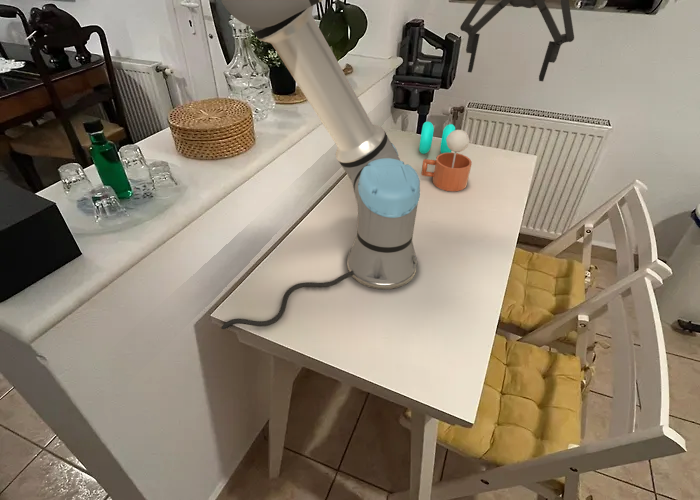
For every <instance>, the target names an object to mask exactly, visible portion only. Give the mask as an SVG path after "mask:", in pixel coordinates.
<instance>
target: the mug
mask: <svg viewBox="0 0 700 500" xmlns="http://www.w3.org/2000/svg"><path fill="white" fill-rule="evenodd" d="M454 153H455V152H451V153H442V154H441V153H439V154H438V155H437V156H436V158H435V159H429V158H424V159H423V160H422V164H421V173H420V174H421V176H422V177H429V178H432V184H433V185H434V186H435V187H437V188H438V189H440V190H443V191H447V192H460V191H463V190H464V189H466V187H467V185H468V181H469V177H470V174H471V168H472V165H473V163H472V160H471V158H469V157H468V156H466V155H464V154H463V153H462V154H461V153H459V152H456V157H455V162H454V167H453V168H452V163H453V158H454ZM429 165H431V166H434V169H433V171H428V166H429Z"/></svg>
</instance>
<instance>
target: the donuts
mask: <svg viewBox="0 0 700 500" xmlns="http://www.w3.org/2000/svg"><path fill="white" fill-rule="evenodd" d="M454 130H456V127H455V125H454V124H453V123H449V124H446V125H445V127H444V128H443V130H442V135H441V140H440V146H439V152H440V154H442V153H452V152H453V151H452V150H450V149H449V147H448V146H447V141H446V139H447V136H448V135H449V134H450V133H451V132H452V131H454ZM434 132H435V126H434V124H433V123H432V122H431V121H429V120H428V121H425V122H424V123H423V124H422V127H421V133H420V137H419V146H418V147H419V148H418V151H419V153H420V154H422V155H426V154H428V153H429V152H430V150H431V148H432V145H433V138H434V134H435V133H434Z"/></svg>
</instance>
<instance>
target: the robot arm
mask: <svg viewBox="0 0 700 500" xmlns="http://www.w3.org/2000/svg"><path fill="white" fill-rule="evenodd" d="M220 1H221V3H222V5H223V6H224V8H225V10H226V11H227V12H229V14H230V15H231V16H232V17H233V18H235V19H236V20H237V21H238V22H239V23H242V24H244V25H245V26H248V27H250V30H251V31H252V32H253V33H254V35H255V36H256V39H257V40H258V41H261V42H264V43H268V44H271V45H272V47H273V49H274V50H275V52H276V53H277V54H278V57H279V58H280V59H281V61H282V63H283V64H284V66H285V67H286V69H287V70H288V72H289V73H290V75H291V77H292V78H293V80H294V81H295V83H296V84H297V86H298V88H299V89H300V91H301V92H302V94H303V95H304V97H305V98H306V100H307V101H308V103H309V105H310V106H311V108H312V109H313V111H314V112H315V114H316V115H317V117H318V119H319V121H321V123H322V125H323V126H324V128H325V129H326V131H327V133H328V134H329V136H330V137H331V139H332V140H333V141H334V144H335V145H336V146H337V148H336V152H335V158H336V160H337V161H338V163H339V164H340V166H341V168H342V169H343V171H344V173H346V175H347V177H348V178H349V180H350V183H351V185H352V188H353V192H354V197H355V201H356V206H357V224H356V225H357V226H356V236H355V238H354V241H353V244H352V246H351V248H350V249H349V251H348V255H347V259H346V260H347V262H346V263H347V264H346V265H347V266H346V267H347V270H348V272H346V273H344V274H342V275H340V276H339V277H336V278H335V279H333V280H330V281H325V282H324V281H323V282H313V281H312V282H311V281H310V282H300V283H296V284H294V285H292V286H291V287H289V288H288V289H287V290H286V292H285V293H284V295H283V297H282V301H281V305H280V309H279V310H278V312H277V313H276V315H275V316H274V317H272V318H271V319H268V320H260V321H259V320H253V319H247V318H233V319H230V320H228V321H226V322H225V323H224V324H223V325H222V326H221V328H220V329H221V330H227V329H228V328H229V327H231V326H233V325H238V324H240V325H248V326H252V327H267V326H271V325H273V324H275V323H277V322H278V321H279V320H280V319H281V318H282V317H283V315H284V312H285V310H286V308H287V304H288V300H289V297H290V295H291V294H292V293H293V292H295V291H296V290H299V289H301V288H327V287H332V286H334V285H337V284H339V283H341V282H342V281H344V280H346V279H348V278H350V277H352V278H353V280H355V281H356V282H358V283H359V284H361V285H362V286H365V287H368V288H371V289H376V290H394V289H397V288H400V287H403V286H405V285H407V284H408V283H410V282H411V281H412V280H413V279H414V277H415V275H416V272H417V267H418V260H417V255H416V252H415V247H414V243H413V235H414V232H415V231H414V230H415V225H416V218H417V211H418V205H419V201H420V197H421V181H420V177H419V174H418V172H417V171H416V170H415V169H414V168H413V167H412V166H411V165H410V164H408V163H406V164H405V162H404V161H402V160H401V158H400V156H399V152H398V150H397V148H396V146H395V145H394V144H393V142H391V140H390V137H389V136H388V135H387V132H386V131H385V129H384V127H383V126H382V125H379V124H373V122H372V120H371V119H370V117H369V115H368V113H367V111H366V110H365V108H364V106H363V105H362V103H361V101H360V99H359V97H358V96H357V93H356V92H355V90H354V88H353V86H352V85H351V83H350V81H349V80H348V77H347V75H346V74H345V72H344V70H343V68H342V67H341V65H340V63H339V61H338V59H337V57H336V56H335V54H334V52H333V50H332V49H331V47H330V45H329V43H328V42H327V40H326V38H325V36H324V35H323V32H322V30H321V29H320V27H319V25H318V24H317V22H316V20H315V18H314V16H313V10H314V6H315V5H317V4H319V3H321V2H323V0H220ZM486 1H487V0H476V2H475V3H474V5H473V6H472V8H471V9H470V11H469V12H468V14H467V15H466V17H465V18H464V20H463V21H462V23H461V25H460V27H459V29H460V31H461V32H464V33H466V34H467V35H468V37H467V43H466V49H465V52H466V54H470V58H469V63H468V68H467V73H473V69H474V65H475V61H476V54H477V51H478V50H477V49H478V45H479V39H480V35H481V34H480V33H478V32H479V31H480V30H481V29H482V28H483V27H484V26H486V25H487V24H488V23H489V22H490V21H491V20H492V19H494V17H495V16H496V15H497V14H499V12H501V11H502V10H503V9H504V8H505V7H506V6H508V4H509V5H511V6H512V7H513V8H520V7H524V8H526V9H532V8H534V7H537V9H538V11H539V12H540V15H541V17H542V18H543V21H544V22H545V25H546V27H547V29H548V31H549V33H550V35H551V37H552V39H553V41H552V40H550V41H548V42H549V43H548V45H547V49H546V51H545V55H544V59H543V61H542V65H541V68H540V71H539V75H538V81H539V82H544V80H545V77H546V74H547V70H548V67H549V65H550V63H552V64H553V63H555V62H556V61H557V59H558V55H559V53H560V49H561V46H563V44H565V43H571V42H573V41H574V40H575V33H574V26H573V20H572V12H571V7H570V0H559V2H560V8H561V14H562V20H563V26H564V33H562V34H561V32H560V29H559V28H558V26H557V24H556V21H555V20H554V17H553V16H552V13H551V11H550V9H549V6H548V4H547V2H546V0H498V1H497V2H496V3H495V4H494V5H493V6H492V7H491V8H490V9H489V10H487V12H486V13H485V14H484V15H482V17H481V18H479V20H477V21H476V22H475V23H474V25H472V24H471V23H472V21H474V19H475V17H476V15H477V14H478V13H479V11H480V10H481V8H482V7H483V5H484V3H485V2H486Z"/></svg>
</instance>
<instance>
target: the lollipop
mask: <svg viewBox="0 0 700 500" xmlns="http://www.w3.org/2000/svg"><path fill="white" fill-rule="evenodd" d="M446 141H447V146H448V147H449V149H450V150H452V151H451V152H453V153H454V158H453V163H452V168H453V167H454V162H455V157H456V153H460V152H463V151H465V150H466V149H467V148H468V146H469V145H470V137H469V135H468V133H467V132H466V131H465V130H463V129H455V130H454V131H452V132H451V133H450V134H449V135H448V136H447V139H446Z"/></svg>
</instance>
